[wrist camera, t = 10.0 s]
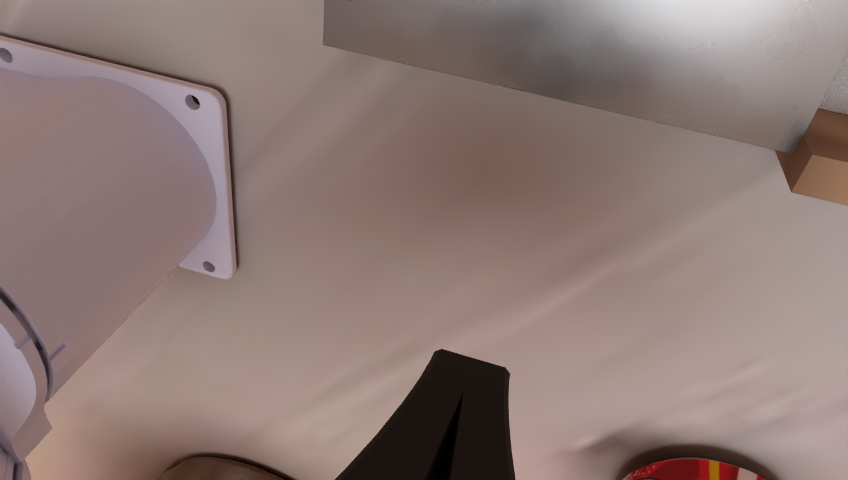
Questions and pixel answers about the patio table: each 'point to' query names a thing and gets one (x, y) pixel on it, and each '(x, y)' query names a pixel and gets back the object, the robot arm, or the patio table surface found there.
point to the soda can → (691, 470)
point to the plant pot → (215, 470)
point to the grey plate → (624, 54)
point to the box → (820, 159)
